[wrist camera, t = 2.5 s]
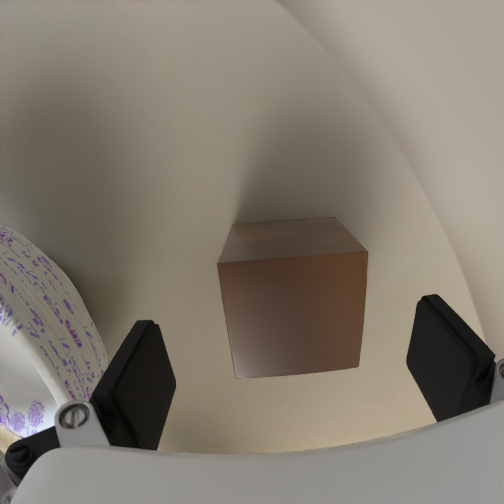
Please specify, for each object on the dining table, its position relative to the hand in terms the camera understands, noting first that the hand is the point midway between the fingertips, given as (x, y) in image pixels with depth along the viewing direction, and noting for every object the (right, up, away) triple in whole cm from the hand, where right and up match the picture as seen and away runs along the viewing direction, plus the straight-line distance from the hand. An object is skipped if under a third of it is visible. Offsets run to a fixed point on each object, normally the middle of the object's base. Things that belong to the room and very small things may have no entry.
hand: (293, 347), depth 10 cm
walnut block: (+1, +2, +7) cm, 7 cm away
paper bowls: (-17, -1, +9) cm, 19 cm away
